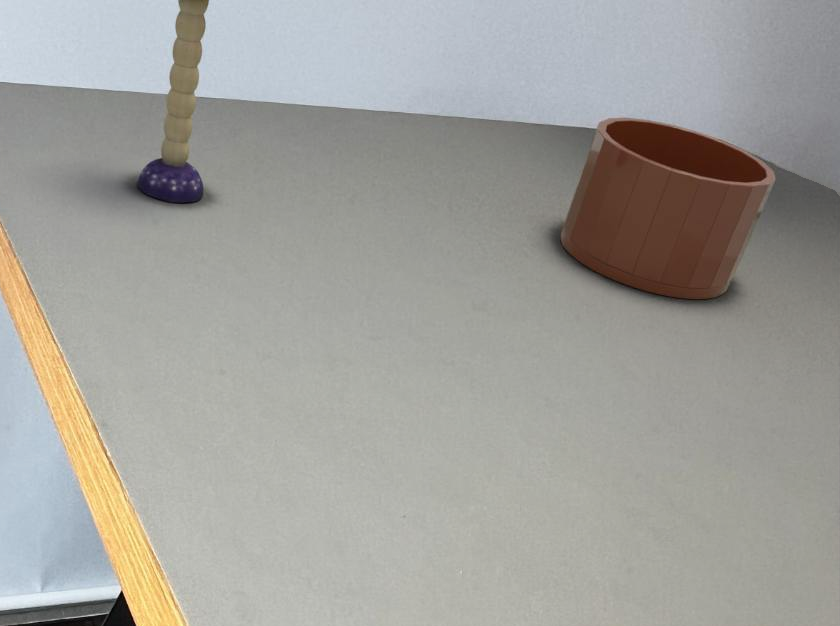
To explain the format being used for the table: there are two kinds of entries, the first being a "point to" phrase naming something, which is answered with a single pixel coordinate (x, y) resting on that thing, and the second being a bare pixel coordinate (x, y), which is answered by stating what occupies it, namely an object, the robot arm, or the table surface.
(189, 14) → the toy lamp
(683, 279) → the crock
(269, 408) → the table surface
